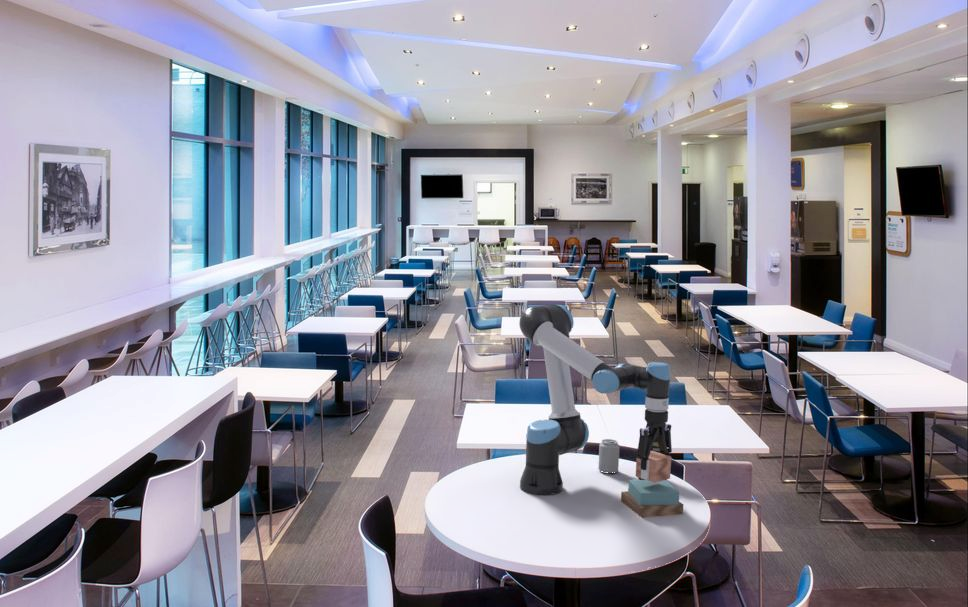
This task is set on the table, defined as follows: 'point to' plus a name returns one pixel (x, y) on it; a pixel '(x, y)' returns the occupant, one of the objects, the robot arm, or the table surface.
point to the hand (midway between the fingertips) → (653, 476)
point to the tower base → (650, 507)
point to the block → (656, 467)
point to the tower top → (653, 492)
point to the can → (608, 456)
